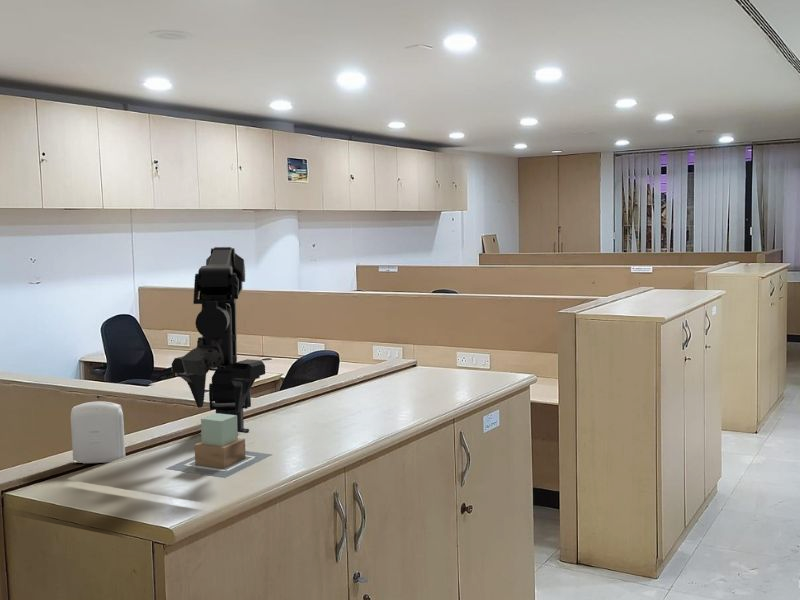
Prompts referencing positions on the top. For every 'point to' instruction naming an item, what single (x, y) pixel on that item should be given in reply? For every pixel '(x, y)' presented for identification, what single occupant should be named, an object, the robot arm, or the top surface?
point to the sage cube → (219, 429)
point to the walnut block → (220, 454)
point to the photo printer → (97, 432)
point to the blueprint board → (219, 472)
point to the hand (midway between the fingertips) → (219, 409)
